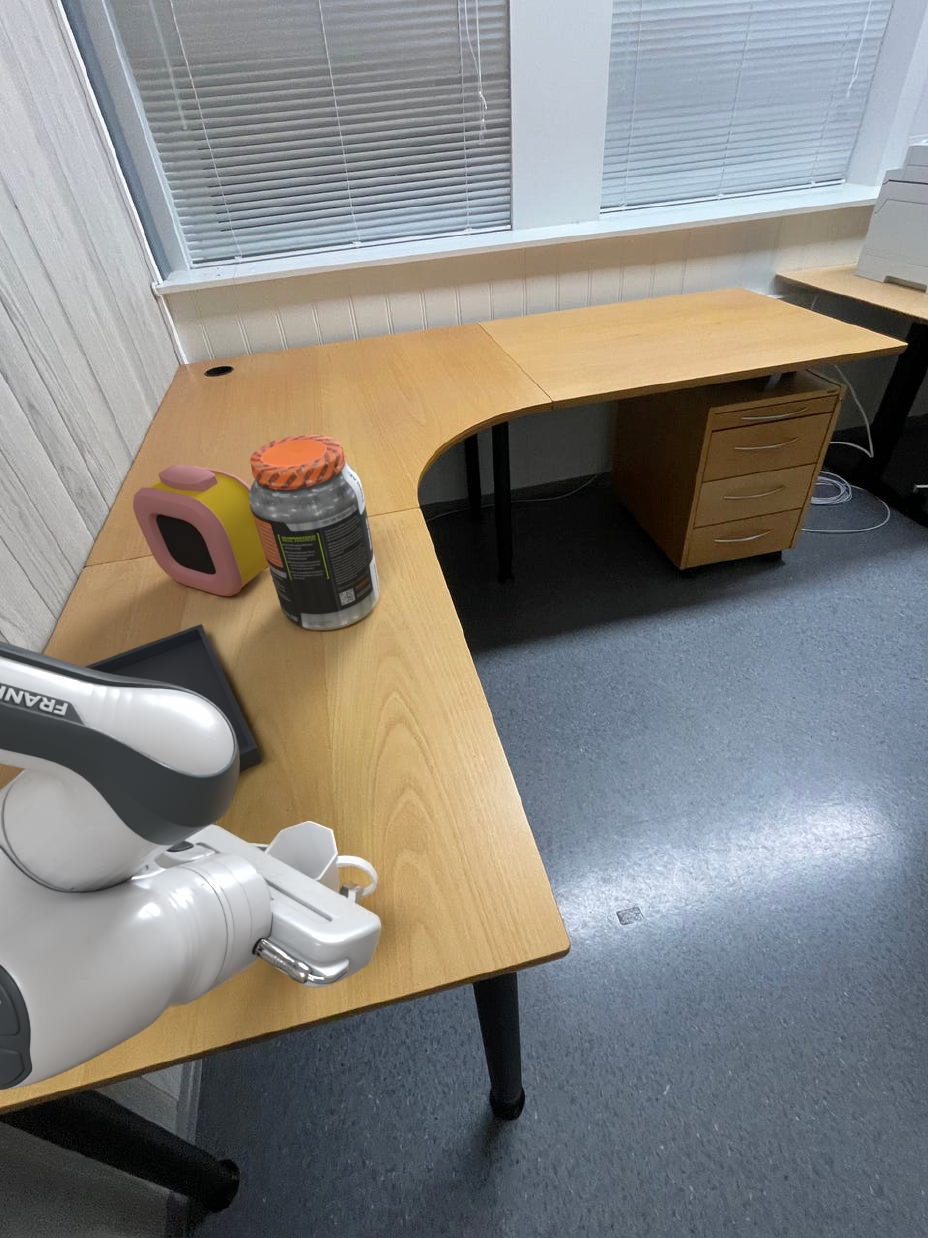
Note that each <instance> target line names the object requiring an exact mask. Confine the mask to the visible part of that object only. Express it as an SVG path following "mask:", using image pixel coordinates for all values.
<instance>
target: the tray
mask: <svg viewBox="0 0 928 1238" xmlns="http://www.w3.org/2000/svg"><path fill="white" fill-rule="evenodd" d="M84 667H86V668H89V669H93V670H97V671H100V672H104V673H109V674H114V675H119V676H126V677H133V678H141V679H148V680H155V681H160V682H165V683H170V684H174V685H178V686H181V687H184V688H187V689H189V690H192V691H194V692H196V693H198V694H200V695H202V696H203V697H205V698H207V699H208V700H210V701H211V702H212V703H214V704H215V705H216V706H217V707H218V708H219V709H220V710H221V711H222V712H223V713H224V714H225V716H226V717H227V718H228V720H229V721H230V723H231V725H232V727H233V729H234V732H235V734H236V738H237V742H238V748H239V760H240V767H239V773H241V772H243V771H246V770H247V769H250V768H251V767H254V766H256V765H259V764H260V763H262V762H263V758H262V756H261V753H260V751H259V749H258V746H257V744H256V742H255V739H254V737H253V736H252V733H251V730H250V729H249V726H248V724H247V722H246V719H245V718H244V717H245V716H244V715H243V713H242V710H241V708H240V706H239V704H238V702H237V699H236V697H235V695H234V692H233V690H232V689H231V686H230V683H229V681H228V679H227V677H226V675H225V673H224V671H223V668H222V666H221V664H220V662H219V659H218V657H217V655H216V652H215V650H214V648H213V646H212V644H211V642H210V639H209V637H208V634H207V632H206V631H205V628H204V626H203V624H202V623H200V624H197V625H195V626H191V627H189V628H186V629H183V630H180V631H179V632H175V633H172V634H170V635H168V636H165V637H161V638H159V639H156V640H154V641H151V642H147V643H145V644H143V645H139V646H137V647H134V648H132V649H129V650H126V651H124V652H119V653H118V654H115V655H112V656H110V657H107V658H103V659H101V660H98V661H96V662H93V663H91V664H88V665H85V666H84Z"/></svg>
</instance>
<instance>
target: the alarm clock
mask: <svg viewBox="0 0 928 1238" xmlns="http://www.w3.org/2000/svg"><path fill="white" fill-rule="evenodd" d="M157 475H158V478H159V479H158V480H157V481H155V482H153V483H152V484H150V485H148V486H146V487H145V486H144V487H141V488H140V489H138V491H136V493H135V494H134V495H133V501H132V509H133V512H134V515H135V519H136V521H137V524H138V525H139V528H140V530H141V532H142V535H143V536H144V538H145V541H146V543H147V546H148V548H149V550H150V552H151V555H152V556H153V559H154V560H155V562H156V563H157V565H158V566H159V567H160V568H161V570H162V571H163V572H164V573H165V574H166V575H167V576H169V577H170V578H171V579H172V580H174V581H176V582H178V583H179V584H182V585H184V586H187V587H189V588H190V587H191V588H194V589H198V590H201V591H203V592H207V593H211V594H214V595H217V596H222V597H232V596H235V595H237V594H238V593H240V592H241V590H242V588H243V587H245V586H246V585H247V584H248V583H249V582H251V580H253V579H254V578H255V577H257V576H258V575H259V574H260V573H261V572H263V571H264V570H265V569H267V568H269V566H268V562H267V559H266V556H265V553H264V550H263V546H262V543H261V540H260V537H259V534H258V530H257V527H256V524H255V521H254V518H253V515H252V511H251V508H250V503H249V494H250V489H251V486H250V485H249V484H248V483H247V482H245V481H244V480H243V479H242V478H240V477H239V476H236V475H234V474H232V473H229V472H226V471H221V470H217V469H212V468H207V467H202V466H198V465H185V464H172V465H171V466H169V467H166V468H164V469H163V470H162V471H159V472H158V474H157Z"/></svg>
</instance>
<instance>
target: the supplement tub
mask: <svg viewBox="0 0 928 1238" xmlns="http://www.w3.org/2000/svg"><path fill="white" fill-rule="evenodd" d="M249 463H250V467H251V475H252V477H253V478H254V481H253V482H252V484H251V486H250V487H251V489H250V494H249V503H250V508H251V511H252V515H253V518H254V521H255V524H256V527H257V530H258V534H259V537H260V540H261V543H262V546H263V550H264V553H265V556H266V559H267V562H268V566H269V567H268V568H269V572H270V575H271V579H272V582H273V585H274V588H275V592H276V595H277V598H278V601H279V605H280V608H281V610H282V613H283V614H284V616H285V617H286V618H287V619H288V621H290V622H291V623H292V624H294V625H296V626H298V627H300V628H303V629H305V630H306V629H307V630H310V631H330V630H337V629H342V628H346V627H348V626H351V625H354V624H356V623H357V622H359V621H361V620H362V619H364V618H365V617H367V616H368V615H369V614H370V613H371V612H372V611H373V610H374V609H375V606H376V605H377V603H378V600H379V597H380V583H379V576H378V571H377V570H378V569H377V563H376V559H375V553H374V546H373V541H372V535H371V527H370V524H369V518H368V512H367V507H366V501H365V495H364V491H363V485H362V481H361V479H360V477H359V476H358V474H357V472H356V471H355V470H354V469H353V468H352V467H351V466H350V465H349V464H348V463H347V457H346V455H345V452H344V448H343V445H342V443H341V442H340V441H339V440H337V439H336V438H334V437H331V436H328V435H321V434H300V435H292V436H286V437H282V438H279V439H276V440H273V441H270V442H267V443H266V444H264V445H262V446H260V447H259V448H258V449H256V450H255V451H254V452H253V453H252V455H251V456H250V459H249Z"/></svg>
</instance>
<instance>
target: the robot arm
mask: <svg viewBox="0 0 928 1238" xmlns="http://www.w3.org/2000/svg"><path fill="white" fill-rule="evenodd" d="M0 765H4V766H10V767H16V768H19V769H24V770H22V771H21V772H20V773H18V774H17V776H15V777H14V778H12V779H11V780H10V781H9V782H8V783H6V785H4V786H3V787H2V788H1V789H0V1091H7V1090H15V1089H19V1088H24V1087H28V1086H32V1085H34V1084H38V1083H40V1082H44V1081H47V1080H49V1079H52V1078H54V1077H57V1076H59V1075H61V1074H63V1073H67V1072H69V1071H70V1070H73V1069H75V1068H77V1067H80V1066H82V1065H83V1064H86V1063H87V1062H89V1061H91V1060H93V1059H95V1058H97V1057H100V1056H101V1055H102V1054H105V1053H106V1052H109V1051H110V1050H112V1049H114V1048H115V1047H118V1046H119V1045H121V1044H123V1043H126V1041H128V1040H130V1039H131V1038H133V1037H135V1036H137V1035H138V1034H140V1033H142V1032H143V1031H145V1030H146V1029H148V1028H149V1027H150V1026H152V1025H153V1024H154V1023H155V1022H156V1021H158V1019H159V1018H160V1017H161V1016H162V1015H163V1014H164V1013H165V1012H166V1011H168V1010H169V1009H171V1008H177V1007H182V1006H185V1005H188V1004H190V1003H192V1002H193V1003H194V1002H195V1001H197V1000H198V999H201V998H202V997H204V996H206V995H208V994H209V993H211V992H212V991H214V990H216V989H218V988H219V987H221V986H223V985H225V984H226V983H227V982H230V981H231V980H233V979H234V978H236V977H239V976H240V975H242V974H243V973H245V972H247V971H248V970H249V969H251V968H252V967H253V966H254V965H255V964H256V963H257V962H258V961H259V959H261V960H262V961H264V962H266V963H267V964H269V965H270V966H272V967H273V968H275V969H276V970H278V971H280V972H281V973H283V974H284V975H286V976H287V977H288V978H290V979H291V980H293V981H294V982H297V983H299V984H301V985H302V986H305V987H309V988H314V989H315V988H317V989H318V988H325V987H331V986H332V985H334V984H336V983H338V982H340V981H343V980H345V979H346V978H348V977H350V976H353V975H355V974H356V973H358V972H360V971H361V970H362V969H364V968H366V967H367V966H368V965H369V964H370V963H371V962H372V960H373V957H374V956H375V954H376V950H377V947H378V944H379V941H380V938H381V934H382V922H381V919H380V917H379V915H377V914H376V913H374V912H373V911H371V910H369V909H367V908H365V907H364V906H362V905H360V903H361V901H362V899H361V898H362V895H363V892H364V887H363V886H360V885H359V884H357V883H356V882H354V881H352V880H349V881H348V882H346V883H343V884H341V886H340V889H339V894H338V893H337V892H335V891H333V890H331V889H330V888H328V887H326V886H324V885H322V884H321V883H319V882H317V881H315V880H314V879H312V878H310V877H308V876H306V875H305V874H303V873H301V872H299V871H298V870H296V869H294V868H292V867H290V866H289V865H287V864H285V863H283V862H281V861H280V860H278V859H276V858H274V857H273V856H271V855H269V854H267V853H265V852H264V851H265V850H266V848H267V847H268V846H269V845H270V844H267V843H256V842H248V841H246V840H244V839H243V838H240V837H239V836H237V835H235V834H233V833H232V832H230V831H228V830H227V829H225V828H223V827H221V826H220V825H217V824H215V823H217V822H218V821H219V820H221V819H222V818H223V817H224V816H225V815H226V814H227V812H228V811H229V809H230V808H231V806H232V804H233V802H234V798H235V794H236V791H237V787H238V783H239V776H240V772H239V767H240V760H239V748H238V742H237V738H236V734H235V732H234V729H233V727H232V725H231V723H230V721H229V720H228V718H227V717H226V716H225V714H224V713H223V712H222V711H221V710H220V709H219V708H218V707H217V706H216V705H215V704H214V703H212V702H211V701H210V700H208V699H207V698H205V697H203V696H202V695H200V694H198V693H196V692H194V691H192V690H189V689H187V688H184V687H181V686H178V685H174V684H170V683H165V682H160V681H155V680H148V679H141V678H133V677H126V676H119V675H114V674H109V673H104V672H100V671H97V670H93V669H89V668H86V667H85V666H83V665H79V664H76V663H73V662H70V661H69V662H68V661H66V660H62V659H59V658H56V657H53V656H51V655H47V654H44V653H40V652H37V651H34V650H32V649H28V648H24V647H21V646H18V645H15V644H11V643H8V642H6V641H3V640H0Z"/></svg>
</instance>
